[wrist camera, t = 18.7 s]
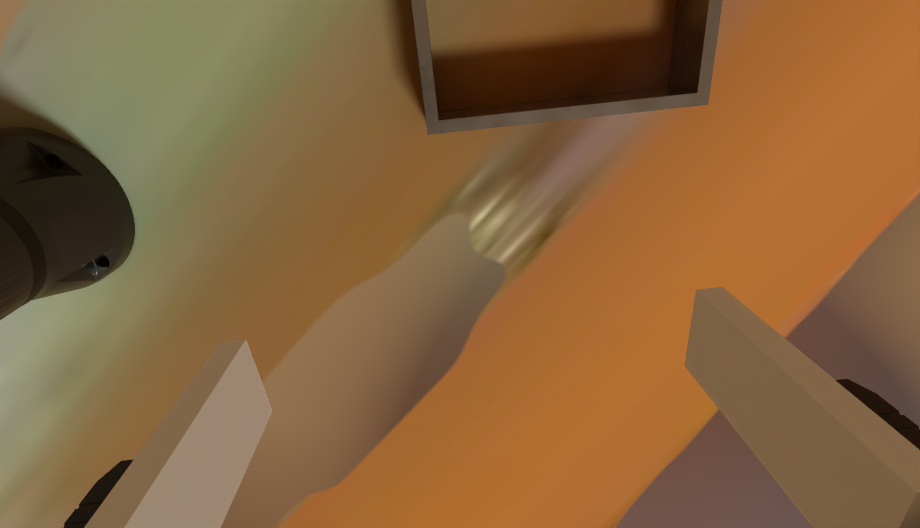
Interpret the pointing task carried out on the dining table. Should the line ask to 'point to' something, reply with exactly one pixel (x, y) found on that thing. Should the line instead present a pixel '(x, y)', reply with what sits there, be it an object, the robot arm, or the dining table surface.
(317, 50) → the dining table surface
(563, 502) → the dining table surface
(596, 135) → the dining table surface
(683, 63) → the metal holder
